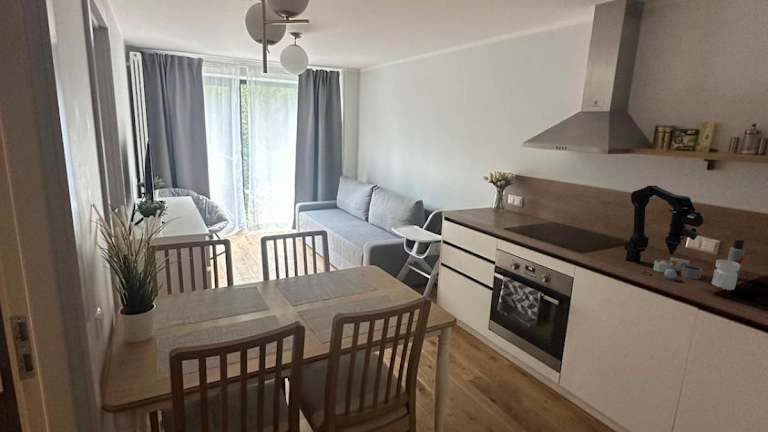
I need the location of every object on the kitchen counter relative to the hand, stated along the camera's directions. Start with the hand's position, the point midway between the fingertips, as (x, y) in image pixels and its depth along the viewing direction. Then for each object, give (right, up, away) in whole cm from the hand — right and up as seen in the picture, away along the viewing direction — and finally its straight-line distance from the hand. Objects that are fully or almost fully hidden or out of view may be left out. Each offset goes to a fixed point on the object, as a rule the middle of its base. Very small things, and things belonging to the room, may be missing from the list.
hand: (673, 253), depth 202 cm
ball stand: (-6, -12, +3) cm, 14 cm away
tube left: (+3, -10, +12) cm, 16 cm away
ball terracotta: (+3, -10, +11) cm, 16 cm away
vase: (+19, -15, -7) cm, 25 cm away
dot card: (+10, -11, +11) cm, 18 cm away
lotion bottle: (+33, -13, +4) cm, 35 cm away
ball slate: (-2, -13, 0) cm, 13 cm away
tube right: (+11, -13, +4) cm, 17 cm away
